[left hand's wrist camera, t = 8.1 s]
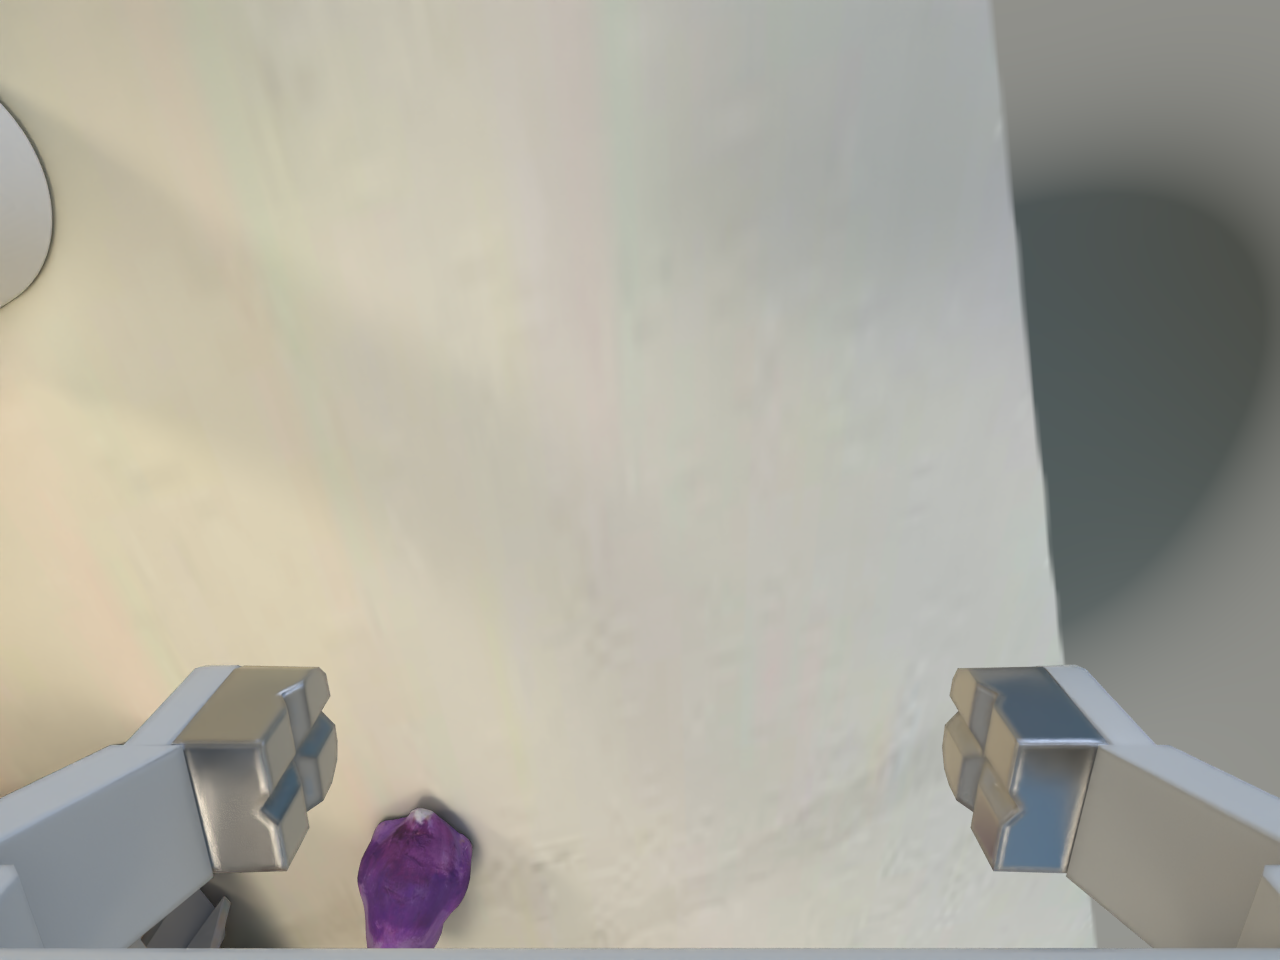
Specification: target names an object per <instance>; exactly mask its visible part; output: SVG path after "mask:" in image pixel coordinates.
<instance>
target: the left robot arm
mask: <svg viewBox="0 0 1280 960" xmlns="http://www.w3.org/2000/svg"><path fill="white" fill-rule="evenodd" d="M51 235H52V206H51V199H50V194H49V189H48V185H47V181H46V178H45V175H44V172H43V169H42V167H41V164H40V162H39V159H38V157H37V155H36V153H35V151H34V149H33V147H32V145H31V144H30V142H29V140H28V138H27V137H26V135H25V134H24V132H23V130H22V129H21V128H20V126H19V125H18V123H17V122H16V121H15V119H14V118H13V117H12V116H11V114H10V113H9V112H8V111H7V110H6V109H5V107H4V106H3V105H2V104H1V103H0V308H1V307H2V306H4V305H5V304H7V303H8V302H10V301H11V300H13V299H14V298H16V297H17V296H19V295H20V294H21V293H22V292H23V291H24V290H26V289H27V288H28V286H29V285H30V284H31V283H32V282H33V281H34V279H35V278H36V276H37V275H38V273H39V272H40V270H41V268H42V266H43V264H44V261H45V259H46V256H47V253H48V250H49V246H50V241H51ZM329 697H330V691H329V687H328V682H327V677H326V673H325V672H324V671H322V670H321V669H320V668H319V667H289V666H239V665H208V666H202V667H198V668H195V669H194V670H193V671H192V672H191V673H190V674H189V675H188V677H187V678H186V679H185V680H184V681H183V682H182V683H181V684H180V685H179V686H178V687H177V688H176V689H175V690H174V692H173V693H172V694H171V695H170V696H169V697H168V698H167V699H166V700H165V701H164V702H163V703H162V704H161V705H160V707H159V708H158V709H157V710H156V711H155V712H154V713H153V714H152V715H151V716H150V717H149V718H148V719H147V720H146V722H145V723H144V724H143V725H142V726H141V727H140V728H139V729H138V730H137V731H136V732H135V733H134V734H133V735H132V737H131V738H130V739H129V740H128V741H127V742H126V743H125V744H124V745H110V746H108V747H106V748H103V749H101V750H99V751H97V752H95V753H93V754H91V755H89V756H87V757H85V758H83V759H81V760H79V761H76V762H74V763H72V764H70V765H68V766H66V767H64V768H62V769H60V770H58V771H56V772H54V773H52V774H50V775H47V776H45V777H43V778H41V779H39V780H37V781H35V782H33V783H31V784H29V785H27V786H25V787H23V788H20V789H18V790H16V791H14V792H12V793H10V794H8V795H6V796H4V797H2V798H0V960H1280V798H1278V797H1276V796H1274V795H1272V794H1270V793H1268V792H1265V791H1263V790H1261V789H1259V788H1257V787H1255V786H1253V785H1251V784H1249V783H1247V782H1245V781H1243V780H1241V779H1239V778H1236V777H1234V776H1232V775H1230V774H1228V773H1226V772H1224V771H1222V770H1220V769H1218V768H1216V767H1214V766H1212V765H1210V764H1208V763H1206V762H1203V761H1201V760H1199V759H1197V758H1195V757H1193V756H1191V755H1189V754H1187V753H1185V752H1183V751H1181V750H1178V749H1177V748H1174V747H1172V746H1170V745H1156V744H1155V743H1154V742H1153V741H1152V740H1151V739H1150V738H1149V737H1148V735H1147V734H1146V733H1145V732H1144V731H1143V730H1142V729H1141V728H1140V727H1139V726H1138V725H1137V724H1136V723H1135V722H1134V720H1133V719H1132V718H1131V717H1130V716H1129V715H1128V714H1127V713H1126V712H1125V711H1124V710H1123V709H1122V708H1121V706H1120V705H1119V704H1118V703H1117V702H1116V701H1115V700H1114V699H1113V698H1112V697H1111V696H1110V695H1109V694H1108V692H1107V691H1106V690H1105V689H1104V688H1103V687H1102V686H1101V685H1100V684H1099V683H1098V682H1097V681H1096V680H1095V679H1094V678H1093V676H1092V675H1091V674H1090V673H1089V672H1088V671H1087V670H1086V669H1084V668H1082V667H1080V666H1077V665H1056V666H1036V667H998V668H958V669H957V671H956V673H955V675H954V677H953V680H952V685H951V691H950V697H951V699H952V701H953V702H954V704H955V706H956V707H957V709H958V712H957V713H956V714H955V715H954V716H953V717H952V718H951V719H950V720H949V721H948V722H947V723H946V724H945V728H944V737H943V745H942V750H943V761H944V770H945V773H946V776H947V780H948V783H949V786H950V788H951V790H952V792H953V794H954V796H955V798H956V800H957V801H958V802H960V803H961V804H963V805H964V806H965V807H967V808H968V809H970V810H971V811H973V817H972V823H971V829H972V831H973V833H974V835H975V837H976V839H977V841H978V843H979V845H980V846H981V848H982V850H983V852H984V854H985V856H986V858H987V860H988V862H989V864H990V865H991V867H992V869H993V871H1008V872H1043V873H1067V875H1066V877H1067V878H1069V879H1070V880H1071V881H1072V882H1073V883H1075V884H1076V885H1077V886H1078V887H1080V888H1081V889H1082V890H1083V891H1084V892H1086V893H1087V894H1088V895H1089V896H1090V897H1092V898H1093V899H1094V900H1095V901H1097V902H1098V903H1099V904H1100V905H1101V906H1103V907H1104V908H1105V909H1106V910H1107V911H1109V912H1110V913H1111V914H1112V915H1114V916H1115V917H1116V918H1117V919H1118V920H1120V921H1121V922H1122V923H1123V924H1124V925H1126V926H1127V927H1128V928H1129V929H1130V930H1132V931H1133V932H1134V933H1135V934H1137V935H1138V936H1139V937H1140V938H1141V939H1143V940H1144V941H1145V942H1146V943H1147V944H1149V945H1150V946H1151V947H1152V948H128V947H129V946H130V945H132V944H133V943H134V942H135V941H136V940H138V939H139V938H140V937H141V936H142V935H144V934H145V933H146V932H147V931H149V930H150V929H151V928H152V927H153V926H155V925H156V924H157V923H158V922H160V921H161V920H162V919H163V918H164V917H166V916H167V915H168V914H169V913H170V912H172V911H173V910H174V909H175V908H177V907H178V906H179V905H180V904H181V903H183V902H184V901H185V900H186V899H187V898H189V897H190V896H191V895H192V894H194V893H195V892H196V891H197V890H198V889H200V888H201V887H202V886H203V885H205V884H206V883H207V882H208V881H209V880H211V879H212V878H213V876H214V875H213V873H236V872H270V871H287V869H288V868H289V866H290V864H291V862H292V860H293V858H294V856H295V854H296V852H297V850H298V848H299V847H300V845H301V843H302V841H303V839H304V837H305V835H306V833H307V831H308V829H309V823H308V817H307V811H309V810H310V809H312V808H313V807H315V806H316V805H317V804H319V803H320V802H322V801H323V800H324V798H325V796H326V794H327V792H328V790H329V788H330V786H331V784H332V780H333V776H334V772H335V767H336V763H337V735H336V728H335V724H334V723H333V722H332V721H331V720H330V719H329V718H328V717H327V716H326V715H325V714H324V713H323V712H322V709H323V707H324V706H325V704H326V702H327V701H328V699H329Z"/></svg>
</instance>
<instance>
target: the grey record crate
mask: <svg viewBox="0 0 1280 960" xmlns="http://www.w3.org/2000/svg"><path fill="white" fill-rule="evenodd" d="M230 905H231V903H230V901H229V900H228V899H227V898H226V897H225V896H223V898H222V899H221V901H220V902H219V903H218V905H217V906H216V907H214V906H213V905H212V903H211V902H210V901H209V900H208V898H207V897H206V896H205V895H204V894H203V892H202V891H201V890H200V889H198V890H197V891H196V892H195V893H194V894H192V895H191V896H190V897H189V898H187V899H186V900H185V901H184V902H183V903H181V904H180V905H179V906H178V907H177V908H175V909H174V910H173V911H172V912H170V913H169V914H168V915H167V916H166V917H164V918H163V919H162V920H161V921H160V922H158V923H157V924H156V925H155V926H153V927H152V928H151V929H150V930H149V931H147V932H146V933H145V934H144V936H143V937H142V936H141V937H140V938H139V939H138V940H136V941H135V942H134V943H133V944H132V945H130V946H129V947H128V948H219V947H220V945H221V943H222V941H223V940H224V938H225V924H226V920H227V916H228V913H229V909H230Z"/></svg>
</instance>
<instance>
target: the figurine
mask: <svg viewBox="0 0 1280 960" xmlns="http://www.w3.org/2000/svg"><path fill="white" fill-rule="evenodd" d="M472 848H473V847H472V845H471V842H470V840H469V839H468V838H467V837H465V836H464V835H463V834H460V833H458V832H457V831H456V830H455V829H454V828H453V827H451V826H450V825H449V824H448V823H447V822H446V821H444V820H443V819H442V818H440V817H439V816H438V815H436V814H435V813H434V812H433V811H431V810H428V809H424V808H416V809H414V810H412V811H411V812H410V814H409V815H408V816H407V817H404V818H402V817H401V818H400V819H394V820H386V821H383V822H381V823H380V824H379V825H378V826H377V827H376V829H375V831H374V834H373V837H372V840H371V842H370V844H369V846H368V848H367V849H366V851H365V853H364V855H363V857H362V860H361V863H360V867H359V872H358V886H359V891H360V895H361V898H362V901H363V904H364V910H365V921H366V939H367V948H434V947H435V945H436V944H437V942H438V940H439V938H440V935H441V933H442V928H443V923H444V922H445V920H446V919H447V918H448V916H449V915H450V914H451V913H452V912H453V911H454V910H455V909H456V908H457V907H458V906H459V904H460V903H461V901H462V899H463V898H464V896H465V893H466V891H467V888H468V884H469V880H470V871H471V857H472Z"/></svg>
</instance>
